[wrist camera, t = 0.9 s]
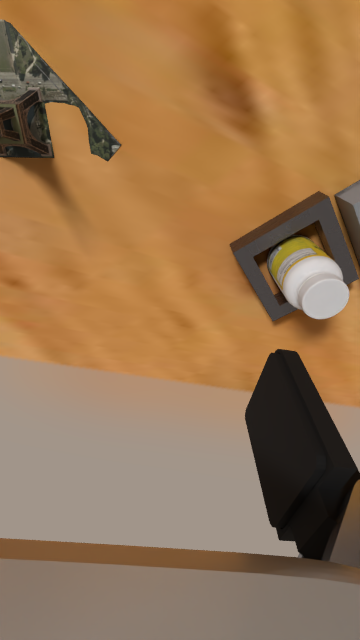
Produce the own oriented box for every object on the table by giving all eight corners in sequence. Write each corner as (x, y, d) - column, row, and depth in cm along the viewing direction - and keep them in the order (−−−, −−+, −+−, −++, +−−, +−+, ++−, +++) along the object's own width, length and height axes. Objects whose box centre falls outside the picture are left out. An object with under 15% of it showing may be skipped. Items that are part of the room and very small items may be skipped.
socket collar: (318, 191, 32) (328, 196, 30) (348, 268, 36) (359, 278, 34) (229, 244, 35) (233, 252, 32) (267, 310, 39) (272, 321, 37)
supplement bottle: (319, 267, 36) (362, 313, 28) (273, 286, 37) (301, 335, 29) (308, 224, 34) (352, 261, 25) (259, 245, 35) (285, 288, 27)
